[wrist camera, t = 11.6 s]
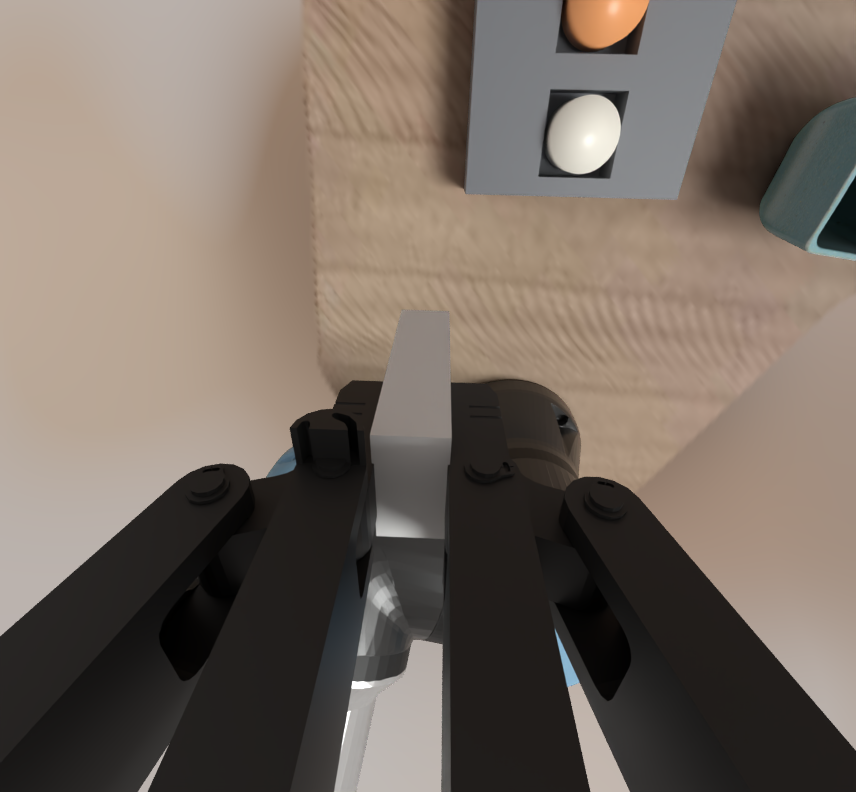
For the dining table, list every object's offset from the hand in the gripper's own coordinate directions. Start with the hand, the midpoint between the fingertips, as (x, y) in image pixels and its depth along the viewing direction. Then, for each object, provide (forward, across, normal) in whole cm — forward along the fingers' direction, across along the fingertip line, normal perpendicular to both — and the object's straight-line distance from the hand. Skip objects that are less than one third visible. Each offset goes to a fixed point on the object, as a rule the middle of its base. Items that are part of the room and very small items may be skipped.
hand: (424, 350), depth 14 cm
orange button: (+23, -10, -13) cm, 28 cm away
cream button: (+23, -10, -6) cm, 25 cm away
